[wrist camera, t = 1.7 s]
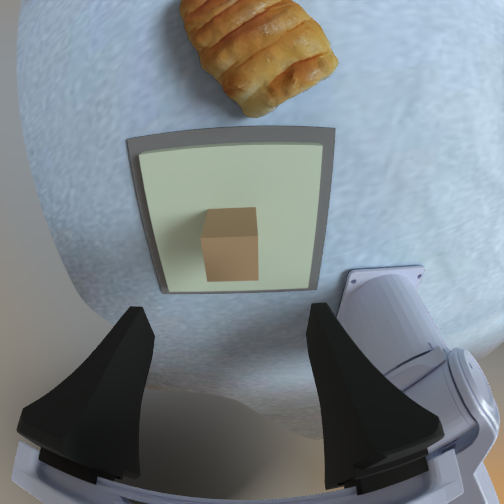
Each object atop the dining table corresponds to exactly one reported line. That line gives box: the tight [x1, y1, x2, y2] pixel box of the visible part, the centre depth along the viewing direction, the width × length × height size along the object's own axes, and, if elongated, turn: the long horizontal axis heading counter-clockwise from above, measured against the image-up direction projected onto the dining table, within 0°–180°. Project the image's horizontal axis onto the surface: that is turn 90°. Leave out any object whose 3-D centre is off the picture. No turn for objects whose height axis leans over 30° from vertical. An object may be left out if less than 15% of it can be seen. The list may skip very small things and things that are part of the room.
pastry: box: [179, 0, 338, 118], centre depth 10 cm, size 9×7×4 cm
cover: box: [139, 142, 323, 292], centre depth 17 cm, size 11×11×4 cm
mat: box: [127, 126, 335, 294], centre depth 18 cm, size 13×13×1 cm
